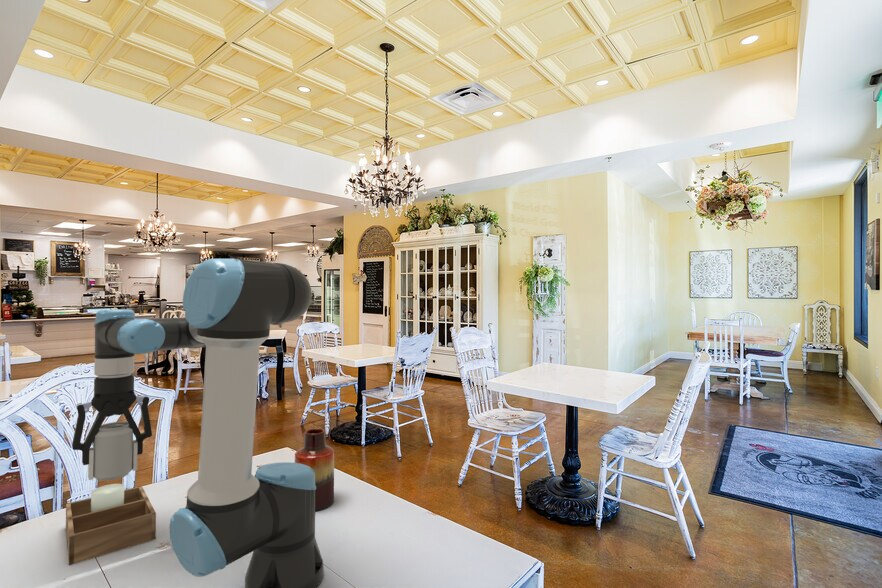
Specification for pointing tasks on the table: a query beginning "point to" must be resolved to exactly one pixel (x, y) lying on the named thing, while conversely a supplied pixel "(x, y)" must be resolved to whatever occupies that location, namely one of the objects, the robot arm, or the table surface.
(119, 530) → the rack
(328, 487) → the vase
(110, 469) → the can
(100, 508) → the pale curved piece
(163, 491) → the table surface
